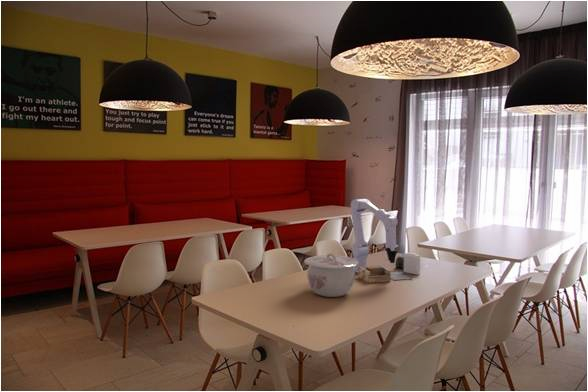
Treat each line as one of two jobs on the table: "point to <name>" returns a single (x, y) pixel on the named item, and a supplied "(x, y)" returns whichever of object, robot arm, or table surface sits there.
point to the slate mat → (399, 276)
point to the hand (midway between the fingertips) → (391, 261)
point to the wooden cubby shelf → (372, 279)
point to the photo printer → (412, 263)
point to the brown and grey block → (375, 270)
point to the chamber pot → (331, 274)
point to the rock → (400, 261)
